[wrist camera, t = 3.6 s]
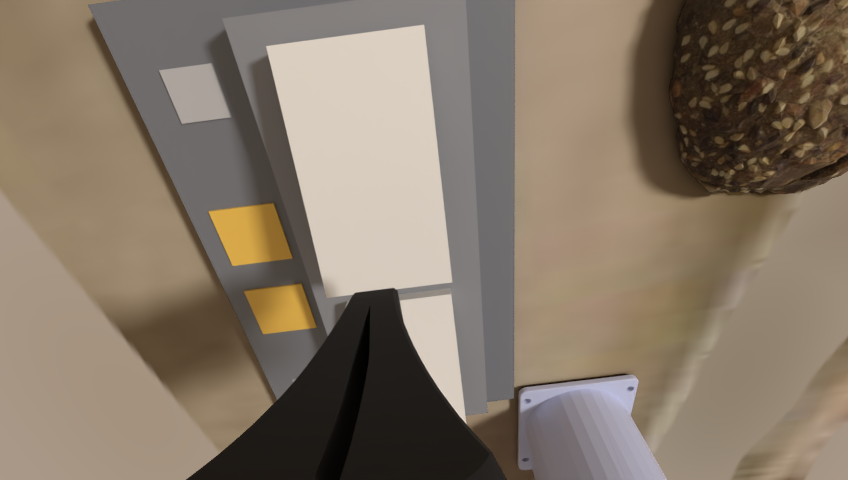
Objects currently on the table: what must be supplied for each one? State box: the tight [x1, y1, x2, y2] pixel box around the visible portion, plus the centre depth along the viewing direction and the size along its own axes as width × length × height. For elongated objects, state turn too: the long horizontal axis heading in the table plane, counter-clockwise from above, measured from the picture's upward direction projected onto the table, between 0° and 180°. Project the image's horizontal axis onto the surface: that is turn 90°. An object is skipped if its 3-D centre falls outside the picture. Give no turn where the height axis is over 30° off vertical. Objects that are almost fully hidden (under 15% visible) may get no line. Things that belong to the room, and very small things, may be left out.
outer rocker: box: [266, 25, 452, 298], centre depth 14 cm, size 9×5×1 cm, turn 6°
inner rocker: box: [345, 288, 466, 423], centre depth 20 cm, size 9×5×1 cm, turn 6°
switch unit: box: [88, 0, 515, 416], centre depth 19 cm, size 24×15×2 cm, turn 7°
